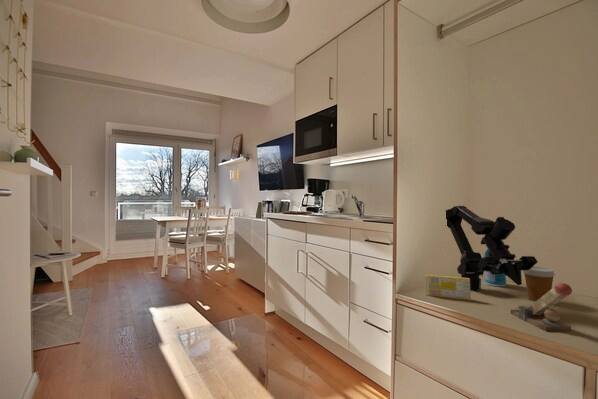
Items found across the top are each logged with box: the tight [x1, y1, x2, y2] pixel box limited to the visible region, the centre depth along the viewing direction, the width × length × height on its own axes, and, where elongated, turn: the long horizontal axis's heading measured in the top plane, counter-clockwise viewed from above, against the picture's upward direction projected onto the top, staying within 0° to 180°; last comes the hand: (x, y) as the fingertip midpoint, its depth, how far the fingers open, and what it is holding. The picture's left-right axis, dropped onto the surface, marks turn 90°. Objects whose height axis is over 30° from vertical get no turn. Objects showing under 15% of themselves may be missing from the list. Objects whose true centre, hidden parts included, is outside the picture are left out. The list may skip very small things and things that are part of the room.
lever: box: [527, 282, 573, 315], centre depth 87 cm, size 4×4×17 cm
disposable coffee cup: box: [522, 266, 556, 302], centre depth 111 cm, size 10×10×12 cm
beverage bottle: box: [483, 245, 507, 287], centre depth 132 cm, size 8×8×20 cm
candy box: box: [424, 274, 472, 301], centre depth 115 cm, size 16×2×8 cm, turn 65°
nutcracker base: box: [510, 305, 572, 332], centre depth 91 cm, size 14×8×6 cm, turn 1°
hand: (519, 284), depth 98 cm, fingers closed
